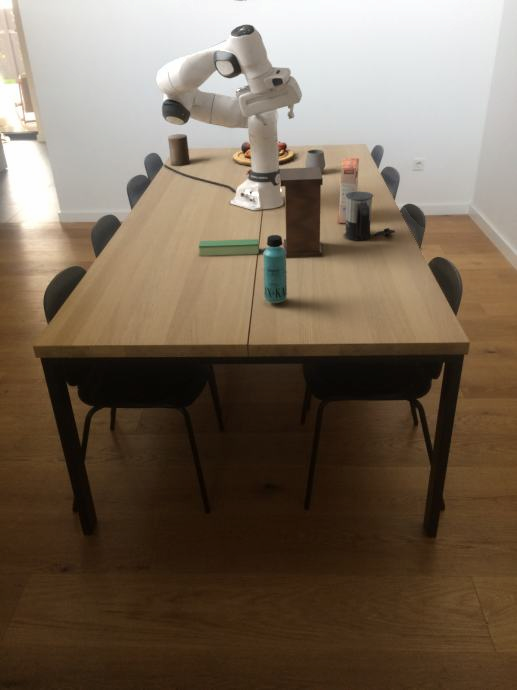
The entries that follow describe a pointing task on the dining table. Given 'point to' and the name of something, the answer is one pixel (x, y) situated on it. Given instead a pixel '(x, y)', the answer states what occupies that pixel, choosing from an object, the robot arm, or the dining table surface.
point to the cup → (315, 159)
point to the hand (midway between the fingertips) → (278, 121)
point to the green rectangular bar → (229, 247)
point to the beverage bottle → (275, 270)
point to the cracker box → (347, 184)
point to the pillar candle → (178, 149)
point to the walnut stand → (302, 211)
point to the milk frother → (360, 216)
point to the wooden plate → (245, 154)
